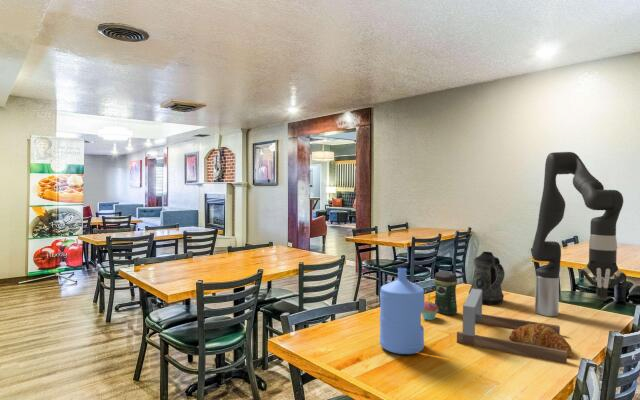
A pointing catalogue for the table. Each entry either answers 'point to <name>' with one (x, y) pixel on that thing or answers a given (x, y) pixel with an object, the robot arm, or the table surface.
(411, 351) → the water jug
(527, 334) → the pastry
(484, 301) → the beer stein
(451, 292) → the coffee jar
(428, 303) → the cupcake
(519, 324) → the two-rail open rack
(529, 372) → the table surface
